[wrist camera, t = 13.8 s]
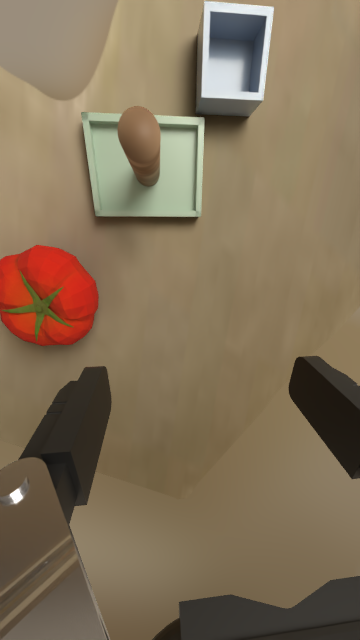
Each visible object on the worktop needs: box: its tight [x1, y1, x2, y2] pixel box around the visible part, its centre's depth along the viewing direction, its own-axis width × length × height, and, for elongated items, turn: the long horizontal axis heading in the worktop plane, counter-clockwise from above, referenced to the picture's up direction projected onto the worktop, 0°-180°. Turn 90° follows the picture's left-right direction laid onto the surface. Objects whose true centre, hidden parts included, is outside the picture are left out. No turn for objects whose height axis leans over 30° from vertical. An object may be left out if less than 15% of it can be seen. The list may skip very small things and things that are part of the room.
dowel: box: [117, 106, 161, 187], centre depth 25 cm, size 4×4×15 cm
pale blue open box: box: [196, 1, 274, 116], centre depth 27 cm, size 8×8×4 cm
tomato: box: [0, 245, 98, 346], centre depth 34 cm, size 14×16×10 cm
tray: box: [81, 112, 205, 217], centre depth 32 cm, size 16×12×2 cm
